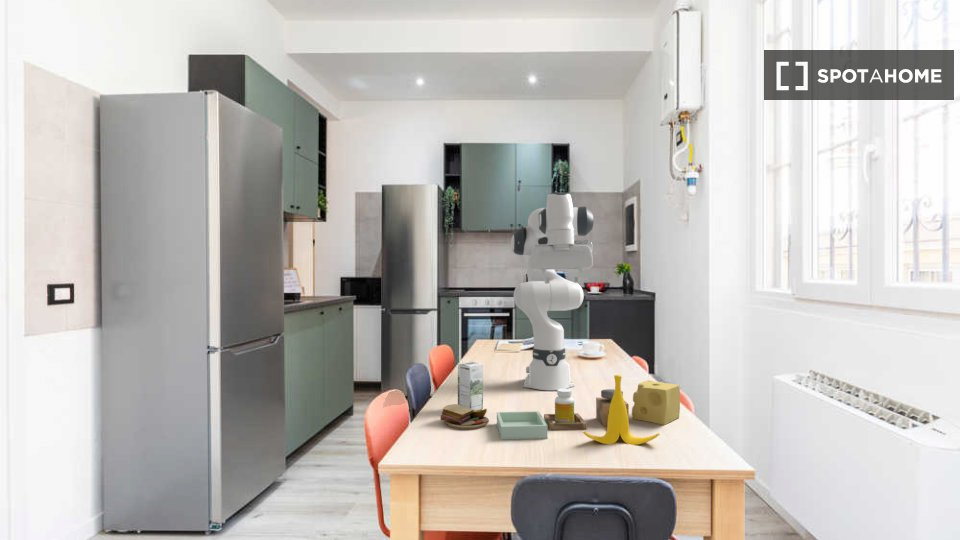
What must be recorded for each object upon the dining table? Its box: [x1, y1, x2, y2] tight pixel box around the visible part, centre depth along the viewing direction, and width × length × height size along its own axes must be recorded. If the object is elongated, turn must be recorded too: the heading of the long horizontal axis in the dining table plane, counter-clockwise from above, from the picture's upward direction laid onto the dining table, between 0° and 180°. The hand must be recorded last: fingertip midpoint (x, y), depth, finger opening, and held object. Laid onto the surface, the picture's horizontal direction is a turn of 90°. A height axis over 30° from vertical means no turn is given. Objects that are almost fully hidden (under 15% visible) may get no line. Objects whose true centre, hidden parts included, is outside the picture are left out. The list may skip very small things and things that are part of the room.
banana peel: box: [582, 374, 661, 446], centre depth 138 cm, size 17×19×17 cm
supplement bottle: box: [554, 388, 575, 423], centre depth 153 cm, size 5×5×10 cm
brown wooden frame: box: [543, 412, 588, 431], centre depth 153 cm, size 10×10×2 cm
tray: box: [496, 410, 548, 441], centre depth 147 cm, size 14×12×3 cm
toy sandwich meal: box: [440, 403, 490, 431], centre depth 154 cm, size 12×14×5 cm
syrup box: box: [457, 361, 484, 411], centre depth 168 cm, size 6×6×14 cm
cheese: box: [631, 380, 681, 426], centre depth 158 cm, size 10×11×10 cm
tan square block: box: [595, 388, 630, 427], centre depth 155 cm, size 8×7×9 cm
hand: (561, 283), depth 175 cm, fingers open, 8 cm apart
